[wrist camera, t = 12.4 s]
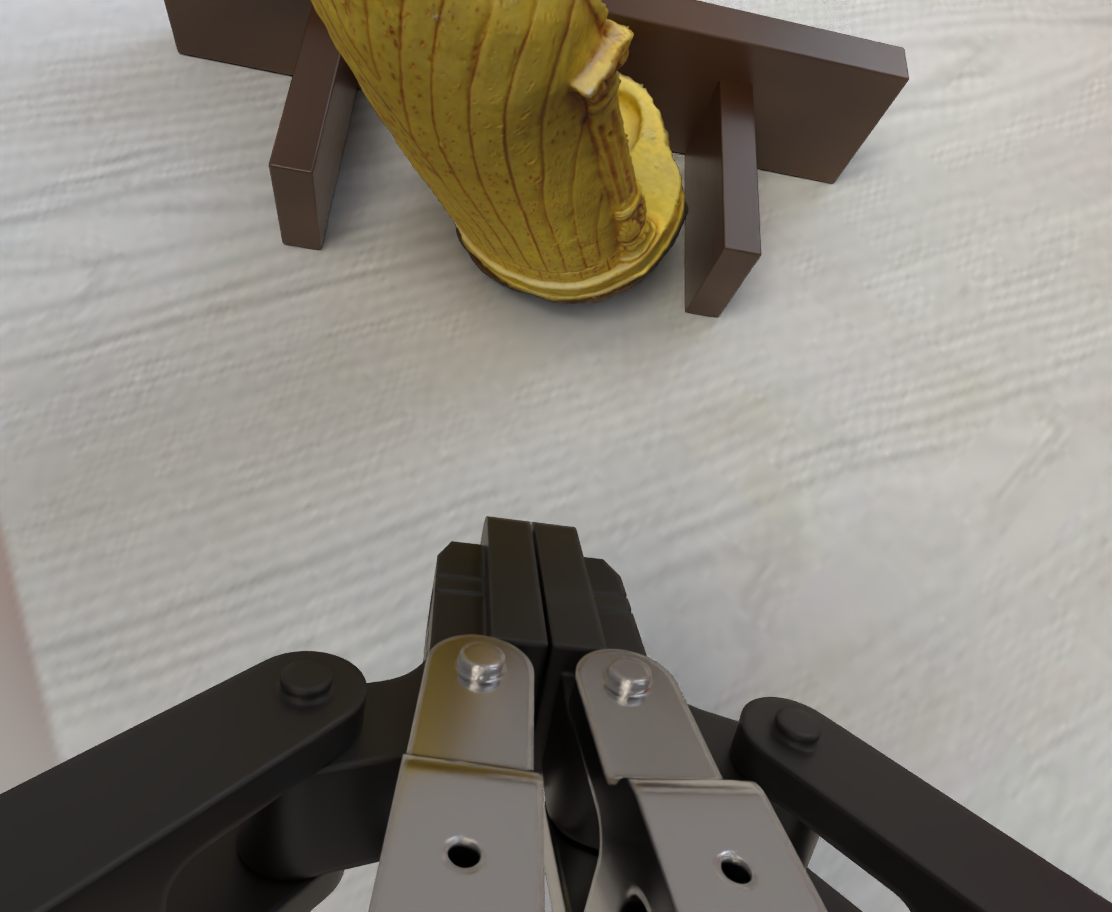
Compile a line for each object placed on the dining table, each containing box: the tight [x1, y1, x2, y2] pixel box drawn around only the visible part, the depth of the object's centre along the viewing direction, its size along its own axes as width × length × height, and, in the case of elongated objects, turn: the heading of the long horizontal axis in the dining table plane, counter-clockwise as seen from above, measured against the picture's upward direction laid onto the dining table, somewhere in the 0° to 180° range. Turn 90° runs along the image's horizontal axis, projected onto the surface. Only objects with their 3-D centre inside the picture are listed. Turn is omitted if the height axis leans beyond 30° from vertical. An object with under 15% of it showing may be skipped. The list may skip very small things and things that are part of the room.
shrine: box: [311, 0, 689, 304], centre depth 20 cm, size 12×8×15 cm
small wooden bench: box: [164, 0, 909, 317], centre depth 26 cm, size 24×8×5 cm, turn 86°
